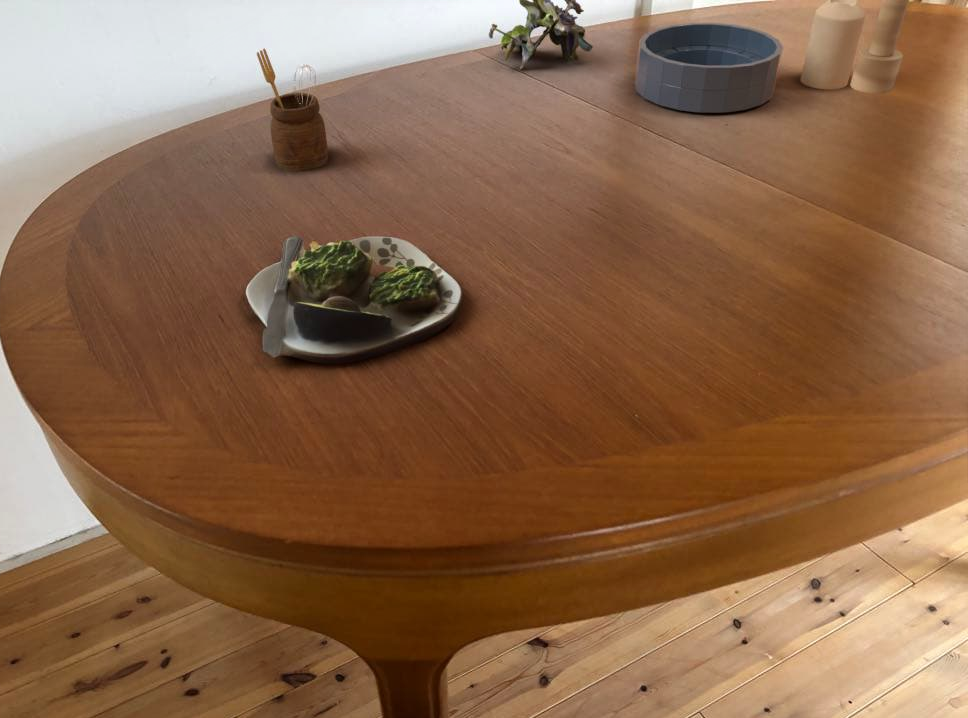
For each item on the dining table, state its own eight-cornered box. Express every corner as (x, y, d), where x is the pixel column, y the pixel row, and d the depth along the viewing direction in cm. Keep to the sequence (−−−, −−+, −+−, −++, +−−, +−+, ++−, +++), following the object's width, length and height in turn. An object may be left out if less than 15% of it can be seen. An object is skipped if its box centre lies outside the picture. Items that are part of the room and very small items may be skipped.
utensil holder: (313, 178, 95) (298, 65, 88) (263, 170, 98) (244, 59, 90) (339, 156, 100) (326, 46, 92) (290, 149, 102) (274, 41, 94)
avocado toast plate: (209, 278, 80) (198, 233, 77) (386, 228, 86) (383, 184, 83) (283, 394, 67) (273, 344, 64) (487, 325, 73) (487, 276, 70)
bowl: (759, 70, 115) (768, 22, 111) (783, 119, 102) (795, 67, 98) (630, 70, 117) (635, 23, 113) (639, 119, 104) (645, 67, 100)
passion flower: (564, 100, 124) (615, 37, 114) (505, 106, 118) (554, 40, 108) (528, 36, 126) (575, -31, 116) (469, 38, 120) (513, -32, 110)
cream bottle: (835, 96, 107) (857, 8, 101) (791, 86, 110) (810, 1, 104) (854, 82, 110) (876, -3, 104) (811, 73, 113) (830, -10, 107)
